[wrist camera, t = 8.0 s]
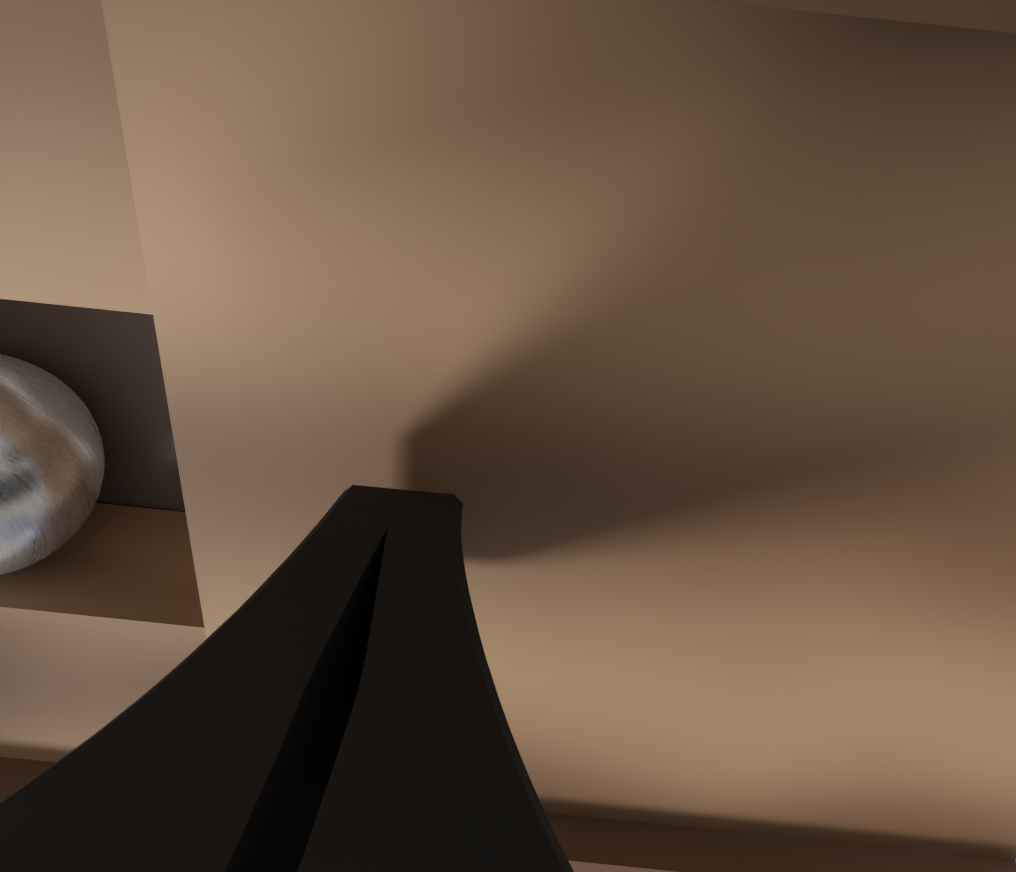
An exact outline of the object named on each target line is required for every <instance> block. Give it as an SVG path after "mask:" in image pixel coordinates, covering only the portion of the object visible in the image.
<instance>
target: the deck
mask: <svg viewBox="0 0 1016 872" xmlns="http://www.w3.org/2000/svg"><path fill="white" fill-rule="evenodd" d="M0 299H7V300H17V301H27V302H36V303H46V304H55V305H65V306H75V307H84V308H94V309H103V310H113V311H123V312H132V313H142V314H151V315H153V318H154V324H155V330H156V336H157V342H158V348H159V354H160V360H161V366H162V373H163V379H164V385H165V391H166V397H167V403H168V409H169V415H170V421H171V427H172V433H173V439H174V445H175V451H176V458H177V464H178V470H179V476H180V482H181V488H182V494H183V500H184V506H185V512H179V511H169V510H160V509H150V508H140V507H131V506H121V505H111V504H102V503H96V504H95V506H94V508H93V510H92V512H91V513H90V515H89V516H88V518H87V519H86V521H85V522H84V524H83V525H82V527H81V528H80V529H79V530H78V531H77V532H76V533H75V535H74V536H73V537H72V538H71V539H69V540H68V541H67V542H66V543H65V544H64V545H62V546H61V547H60V548H59V549H58V550H56V551H55V552H53V553H52V554H50V555H49V556H47V557H46V558H44V559H42V560H40V561H38V562H36V563H34V564H31V565H29V566H27V567H25V568H22V569H19V570H16V571H13V572H10V573H6V574H2V575H0V802H2V801H3V800H5V799H6V798H8V797H9V796H11V795H12V794H13V793H15V792H16V791H18V790H19V789H20V788H22V787H23V786H25V785H26V784H28V783H29V782H30V781H32V780H33V779H35V778H36V777H37V776H39V775H40V774H41V773H43V772H44V771H45V770H47V769H48V768H49V767H51V766H52V765H54V764H55V763H56V762H58V761H59V760H60V759H62V758H63V757H64V756H66V755H67V754H68V753H70V752H71V751H72V750H74V749H75V748H76V747H78V746H79V745H81V744H82V743H83V742H85V741H86V740H87V739H89V738H90V737H91V736H93V735H94V734H95V733H97V732H98V731H99V730H100V729H102V728H103V727H104V726H106V725H107V724H108V723H109V722H111V721H112V720H113V719H114V718H116V717H117V716H118V715H119V714H121V713H122V712H123V711H124V710H125V709H127V708H128V707H129V706H130V705H132V704H133V703H134V702H135V701H137V700H138V699H139V698H140V697H142V696H143V695H144V694H145V693H146V692H147V691H149V690H150V689H151V688H152V687H153V686H155V685H156V684H157V683H158V682H159V681H160V680H162V679H163V678H164V677H165V676H166V675H167V674H169V673H170V672H171V671H172V670H173V669H174V668H175V667H177V666H178V665H179V664H180V663H181V662H182V661H183V660H184V659H186V658H187V657H188V656H189V655H190V654H191V653H192V652H193V651H194V650H195V649H196V648H197V647H198V646H199V645H201V644H202V643H203V642H204V641H205V640H206V639H207V638H208V637H209V636H210V635H211V634H212V633H213V632H214V631H215V630H216V629H217V628H219V627H220V626H221V625H222V624H223V623H224V622H225V621H226V620H227V619H228V618H229V617H230V616H231V615H232V614H233V613H234V612H236V611H237V610H238V609H239V608H240V607H241V606H242V605H243V604H244V603H245V602H246V601H247V600H248V599H249V598H250V596H251V595H252V594H253V593H254V592H255V591H256V590H257V589H258V588H259V587H260V586H261V585H262V584H263V583H264V582H265V581H266V580H267V579H268V578H269V577H270V575H271V574H272V573H273V572H274V571H275V570H276V569H277V568H278V567H279V566H280V565H281V564H282V563H283V562H284V561H285V560H286V559H287V558H288V556H289V555H290V554H291V553H292V552H293V551H294V550H295V549H296V547H297V546H298V545H299V544H300V543H301V542H302V541H303V540H304V539H305V537H306V536H307V535H308V534H309V533H310V532H311V530H312V529H313V528H314V527H315V526H316V525H317V524H318V522H319V521H320V520H321V519H322V518H323V516H324V515H325V514H326V513H327V512H328V510H329V509H330V508H331V507H332V506H333V504H334V503H335V502H336V501H337V499H338V498H339V497H340V496H341V494H342V493H343V492H344V491H345V490H347V489H348V488H349V487H351V486H352V485H360V486H371V487H381V488H391V489H402V490H412V491H423V492H433V493H444V494H454V495H455V496H456V497H457V498H458V499H459V500H460V501H461V502H462V503H463V510H462V527H461V540H462V551H463V558H464V565H465V572H466V578H467V583H468V588H469V593H470V597H471V602H472V606H473V610H474V614H475V618H476V622H477V626H478V631H479V635H480V638H481V642H482V645H483V649H484V652H485V656H486V659H487V663H488V666H489V669H490V672H491V675H492V678H493V681H494V684H495V687H496V691H497V694H498V697H499V700H500V702H501V705H502V708H503V711H504V714H505V717H506V719H507V722H508V725H509V727H510V730H511V733H512V735H513V738H514V741H515V743H516V745H517V748H518V750H519V753H520V755H521V758H522V760H523V763H524V765H525V768H526V770H527V773H528V775H529V777H530V780H531V782H532V784H533V787H534V789H535V791H536V793H537V796H538V798H539V800H540V802H541V805H542V807H543V809H544V811H545V814H546V816H547V818H548V820H549V823H550V825H551V827H552V829H553V831H554V833H555V835H556V837H557V839H558V841H559V843H560V845H561V847H562V849H563V851H564V853H565V855H566V857H567V859H568V861H569V863H570V865H571V867H572V869H573V871H574V872H1016V863H1015V861H1014V860H1015V859H1016V0H0Z"/></svg>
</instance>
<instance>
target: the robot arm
mask: <svg viewBox="0 0 1016 872" xmlns="http://www.w3.org/2000/svg"><path fill="white" fill-rule="evenodd" d="M462 510H463V503H462V502H461V501H460V500H459V499H458V498H457V497H456V496H455V495H454V494H444V493H433V492H423V491H412V490H402V489H391V488H381V487H371V486H360V485H352V486H351V487H349V488H348V489H347V490H345V491H344V492H343V493H342V494H341V496H340V497H339V498H338V499H337V501H336V502H335V503H334V504H333V506H332V507H331V508H330V509H329V510H328V512H327V513H326V514H325V515H324V516H323V518H322V519H321V520H320V521H319V522H318V524H317V525H316V526H315V527H314V528H313V529H312V530H311V532H310V533H309V534H308V535H307V536H306V537H305V539H304V540H303V541H302V542H301V543H300V544H299V545H298V546H297V547H296V549H295V550H294V551H293V552H292V553H291V554H290V555H289V556H288V558H287V559H286V560H285V561H284V562H283V563H282V564H281V565H280V566H279V567H278V568H277V569H276V570H275V571H274V572H273V573H272V574H271V575H270V577H269V578H268V579H267V580H266V581H265V582H264V583H263V584H262V585H261V586H260V587H259V588H258V589H257V590H256V591H255V592H254V593H253V594H252V595H251V596H250V598H249V599H248V600H247V601H246V602H245V603H244V604H243V605H242V606H241V607H240V608H239V609H238V610H237V611H236V612H234V613H233V614H232V615H231V616H230V617H229V618H228V619H227V620H226V621H225V622H224V623H223V624H222V625H221V626H220V627H219V628H217V629H216V630H215V631H214V632H213V633H212V634H211V635H210V636H209V637H208V638H207V639H206V640H205V641H204V642H203V643H202V644H201V645H199V646H198V647H197V648H196V649H195V650H194V651H193V652H192V653H191V654H190V655H189V656H188V657H187V658H186V659H184V660H183V661H182V662H181V663H180V664H179V665H178V666H177V667H175V668H174V669H173V670H172V671H171V672H170V673H169V674H167V675H166V676H165V677H164V678H163V679H162V680H160V681H159V682H158V683H157V684H156V685H155V686H153V687H152V688H151V689H150V690H149V691H147V692H146V693H145V694H144V695H143V696H142V697H140V698H139V699H138V700H137V701H135V702H134V703H133V704H132V705H130V706H129V707H128V708H127V709H125V710H124V711H123V712H122V713H121V714H119V715H118V716H117V717H116V718H114V719H113V720H112V721H111V722H109V723H108V724H107V725H106V726H104V727H103V728H102V729H100V730H99V731H98V732H97V733H95V734H94V735H93V736H91V737H90V738H89V739H87V740H86V741H85V742H83V743H82V744H81V745H79V746H78V747H76V748H75V749H74V750H72V751H71V752H70V753H68V754H67V755H66V756H64V757H63V758H62V759H60V760H59V761H58V762H56V763H55V764H54V765H52V766H51V767H49V768H48V769H47V770H45V771H44V772H43V773H41V774H40V775H39V776H37V777H36V778H35V779H33V780H32V781H30V782H29V783H28V784H26V785H25V786H23V787H22V788H20V789H19V790H18V791H16V792H15V793H13V794H12V795H11V796H9V797H8V798H6V799H5V800H3V801H2V802H0V872H574V871H573V869H572V867H571V865H570V863H569V861H568V859H567V857H566V855H565V853H564V851H563V849H562V847H561V845H560V843H559V841H558V839H557V837H556V835H555V833H554V831H553V829H552V827H551V825H550V823H549V820H548V818H547V816H546V814H545V811H544V809H543V807H542V805H541V802H540V800H539V798H538V796H537V793H536V791H535V789H534V787H533V784H532V782H531V780H530V777H529V775H528V773H527V770H526V768H525V765H524V763H523V760H522V758H521V755H520V753H519V750H518V748H517V745H516V743H515V741H514V738H513V735H512V733H511V730H510V727H509V725H508V722H507V719H506V717H505V714H504V711H503V708H502V705H501V702H500V700H499V697H498V694H497V691H496V687H495V684H494V681H493V678H492V675H491V672H490V669H489V666H488V663H487V659H486V656H485V652H484V649H483V645H482V642H481V638H480V635H479V631H478V626H477V622H476V618H475V614H474V610H473V606H472V602H471V597H470V593H469V588H468V583H467V578H466V572H465V565H464V558H463V551H462V540H461V527H462Z"/></svg>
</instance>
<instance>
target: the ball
mask: <svg viewBox="0 0 1016 872" xmlns="http://www.w3.org/2000/svg"><path fill="white" fill-rule="evenodd" d="M104 465H105V460H104V449H103V443H102V439H101V436H100V432H99V429H98V427H97V425H96V423H95V421H94V419H93V417H92V415H91V413H90V411H89V410H88V408H87V407H86V405H85V404H84V403H83V401H82V400H81V399H80V398H79V397H78V396H77V395H76V393H75V392H74V391H73V390H72V389H70V388H69V387H68V386H67V385H66V384H65V383H64V382H62V381H61V380H60V379H58V378H57V377H55V376H54V375H52V374H51V373H49V372H47V371H45V370H43V369H42V368H40V367H38V366H36V365H33V364H31V363H29V362H26V361H23V360H21V359H17V358H13V357H9V356H5V355H1V354H0V575H2V574H6V573H10V572H13V571H16V570H19V569H22V568H25V567H27V566H29V565H31V564H34V563H36V562H38V561H40V560H42V559H44V558H46V557H47V556H49V555H50V554H52V553H53V552H55V551H56V550H58V549H59V548H60V547H61V546H62V545H64V544H65V543H66V542H67V541H68V540H69V539H71V538H72V537H73V536H74V535H75V533H76V532H77V531H78V530H79V529H80V528H81V527H82V525H83V524H84V522H85V521H86V519H87V518H88V516H89V515H90V513H91V512H92V510H93V508H94V506H95V504H96V502H97V499H98V497H99V493H100V490H101V486H102V482H103V477H104Z"/></svg>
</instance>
